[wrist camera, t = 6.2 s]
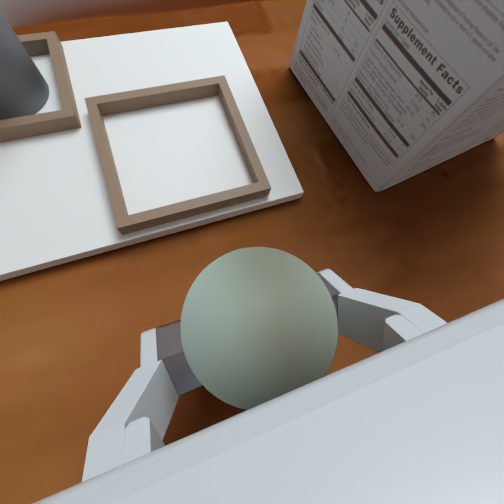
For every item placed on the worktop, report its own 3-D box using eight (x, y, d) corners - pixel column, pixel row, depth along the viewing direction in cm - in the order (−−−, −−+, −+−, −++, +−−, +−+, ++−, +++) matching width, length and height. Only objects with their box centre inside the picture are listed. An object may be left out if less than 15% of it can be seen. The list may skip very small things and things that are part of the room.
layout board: (-32, 289, 15) (-411, 209, 6) (-53, 68, 19) (-302, -187, 10) (300, 198, 20) (376, 67, 10) (227, 31, 24) (234, -171, 14)
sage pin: (212, 386, 15) (208, 441, 7) (189, 308, 16) (161, 272, 8) (286, 356, 16) (363, 372, 8) (259, 285, 17) (302, 229, 9)
